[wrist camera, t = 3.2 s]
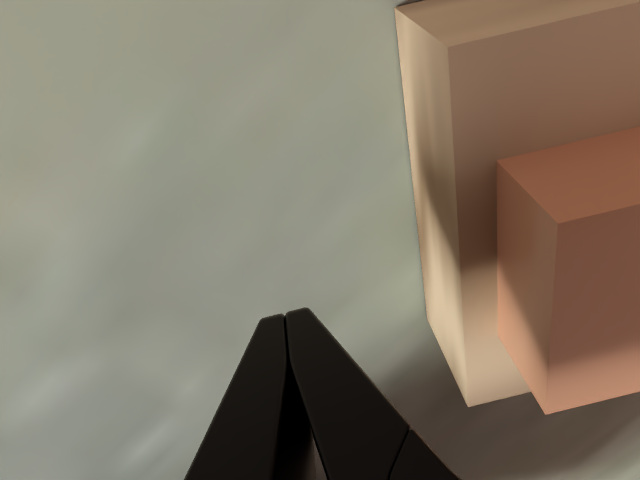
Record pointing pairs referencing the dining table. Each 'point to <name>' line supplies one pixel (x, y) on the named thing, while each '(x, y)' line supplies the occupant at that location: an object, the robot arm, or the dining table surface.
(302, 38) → the dining table surface
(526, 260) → the tile
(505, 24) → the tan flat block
